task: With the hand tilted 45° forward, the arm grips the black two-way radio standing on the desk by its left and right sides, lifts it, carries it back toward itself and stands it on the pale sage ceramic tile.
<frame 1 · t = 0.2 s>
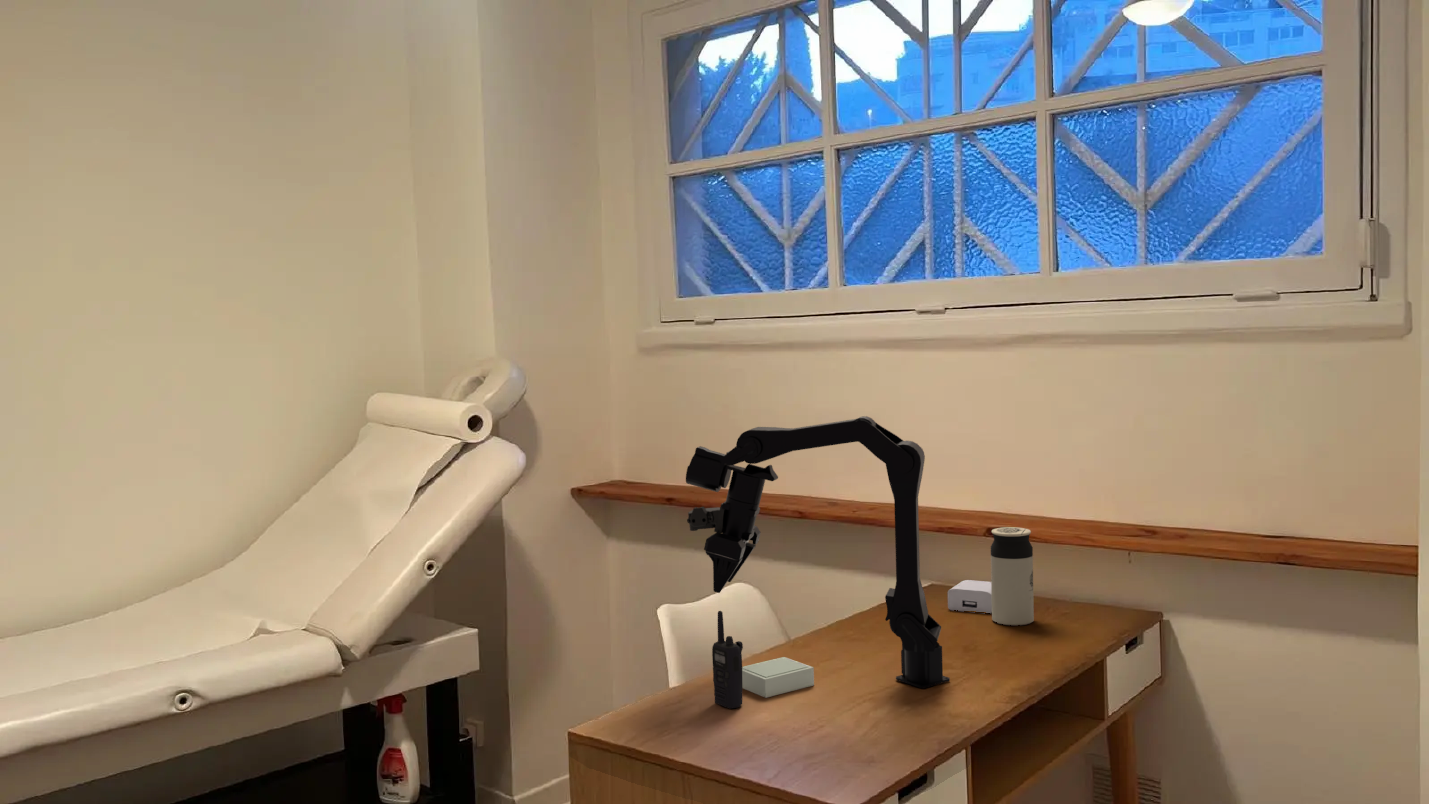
hand: (722, 586, 200), 15 cm above the table, tool tilted 15°, fingers open, 9 cm apart
travel mug: (1012, 622, 228), on the table
two-way radio: (731, 705, 184), on the table
charger: (980, 605, 243), on the table
sage tile: (775, 685, 193), on the table
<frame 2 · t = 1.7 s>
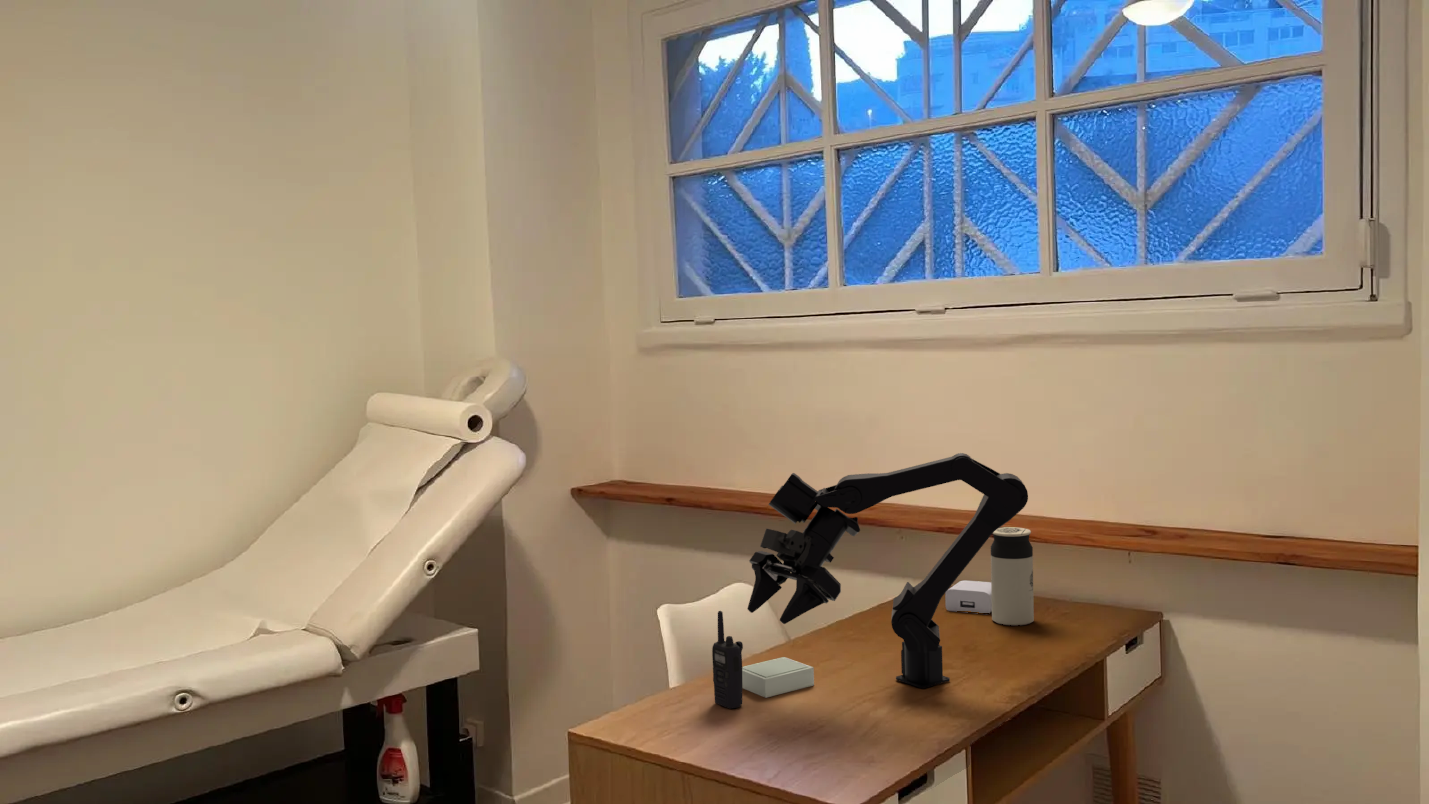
hand: (765, 616, 187), 13 cm above the table, tool tilted 45°, fingers open, 9 cm apart
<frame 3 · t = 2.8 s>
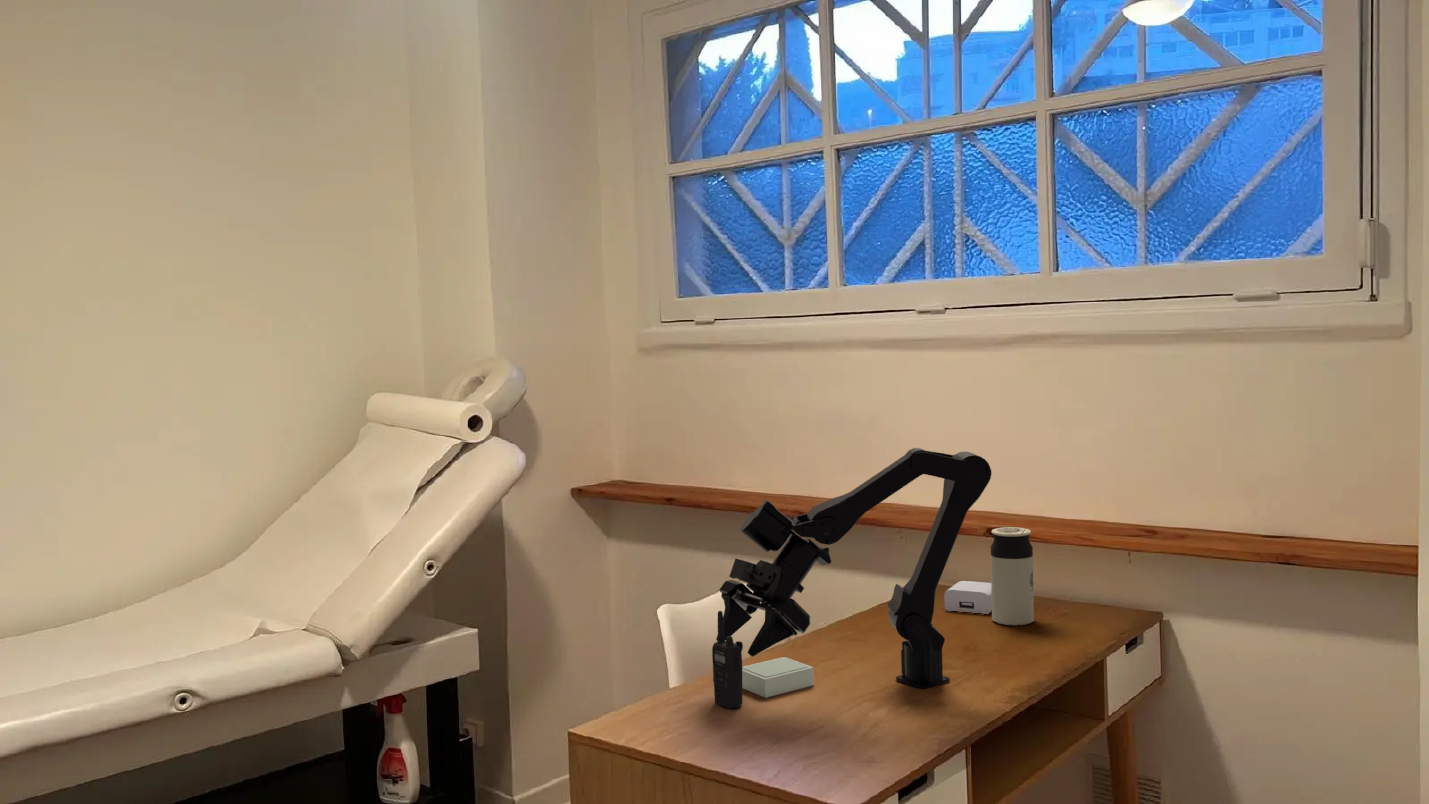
hand: (733, 648, 184), 9 cm above the table, tool tilted 45°, fingers open, 9 cm apart
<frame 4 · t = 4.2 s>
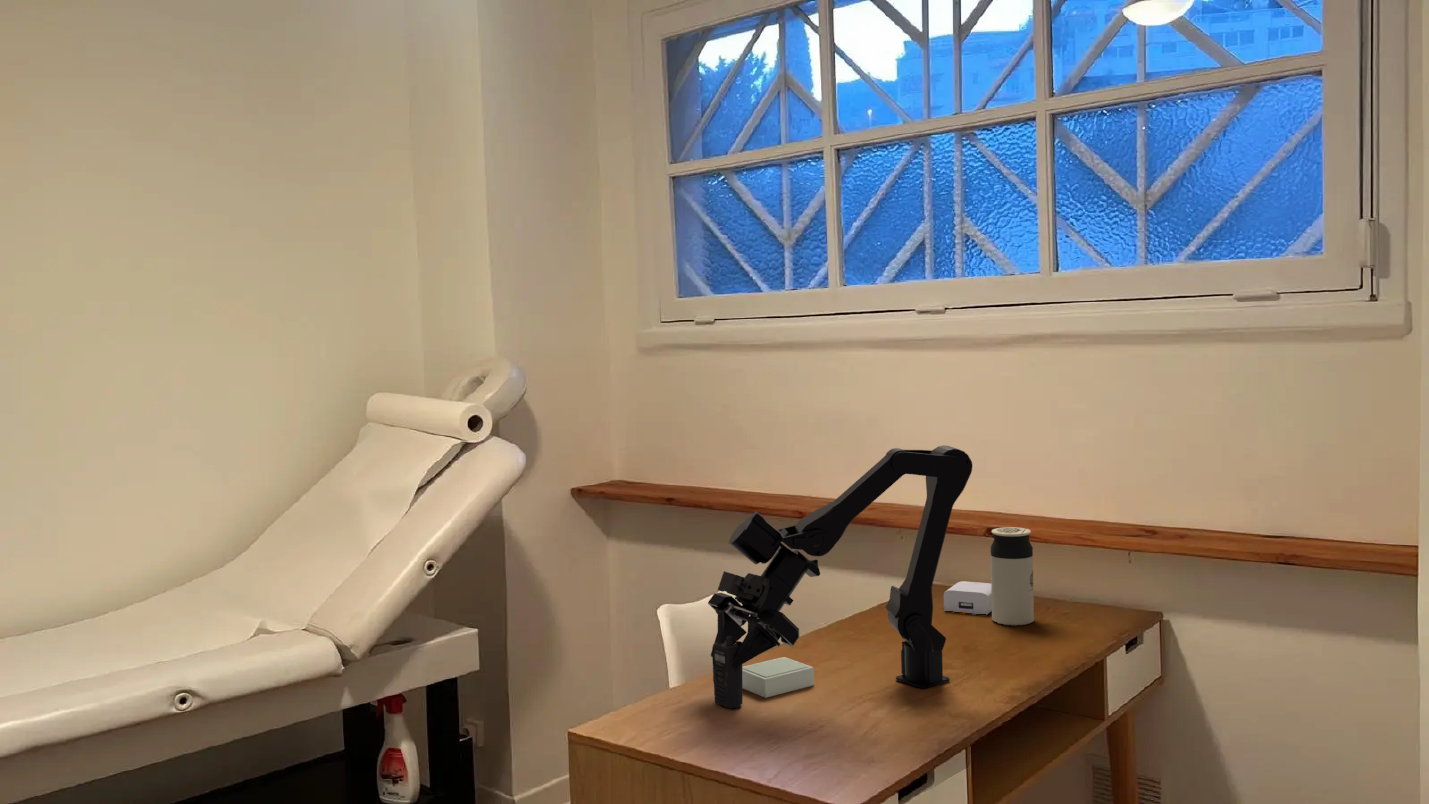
hand: (722, 661, 183), 7 cm above the table, tool tilted 45°, fingers closed on two-way radio, 5 cm apart
two-way radio: (731, 705, 184), on the table, touching gripper
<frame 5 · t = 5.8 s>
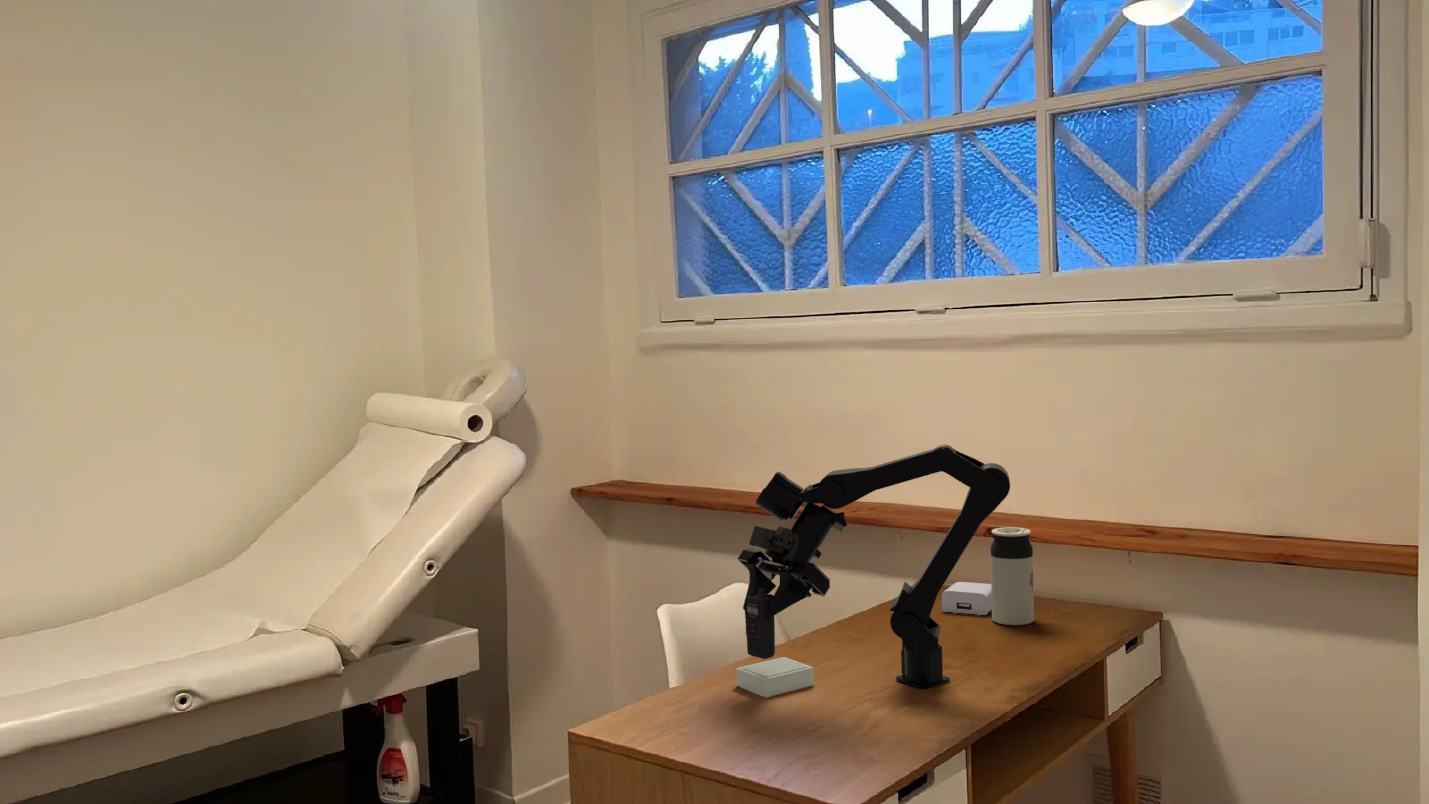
hand: (755, 613, 188), 13 cm above the table, tool tilted 45°, fingers closed on two-way radio, 5 cm apart
two-way radio: (764, 656, 189), point 6 cm above the table, touching gripper
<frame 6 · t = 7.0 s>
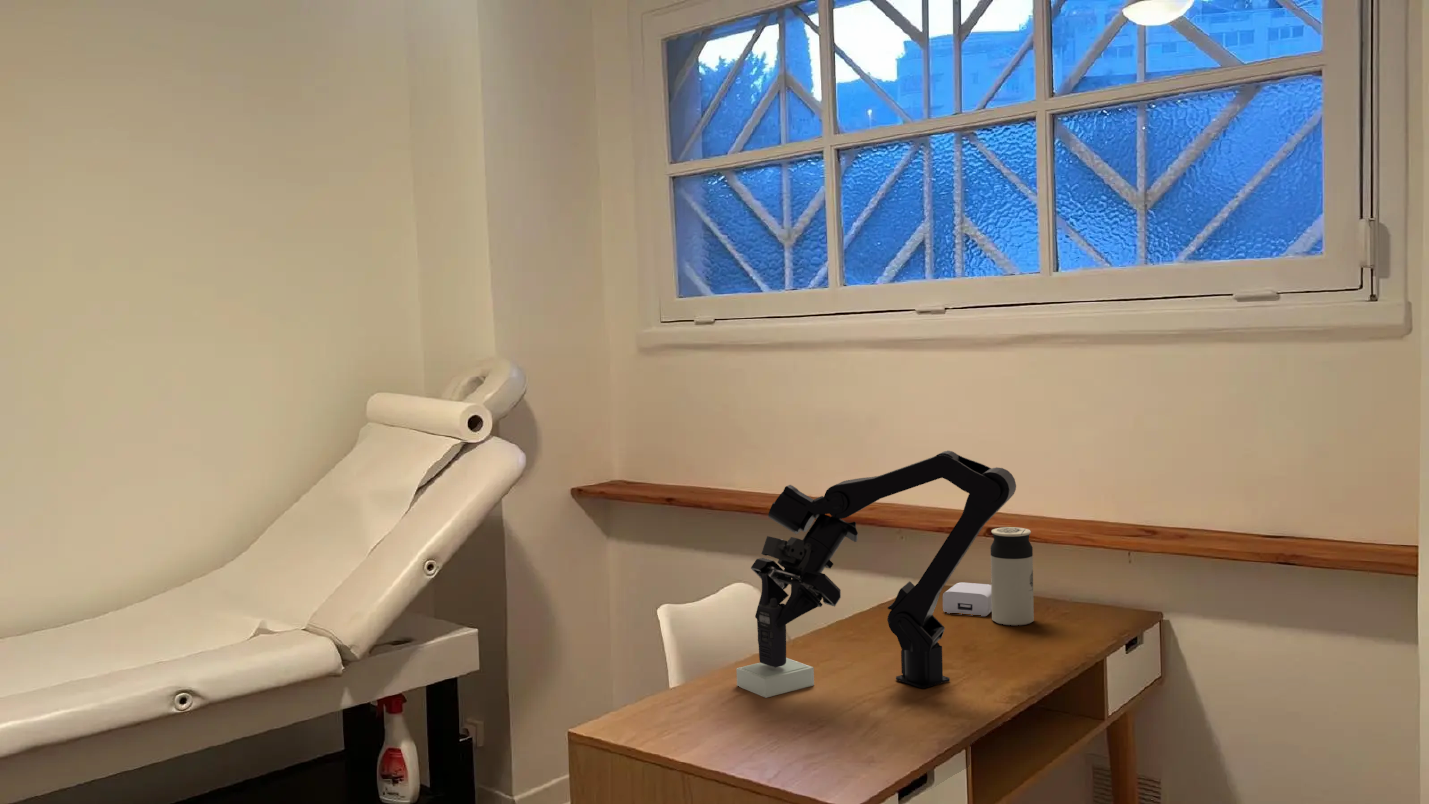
hand: (767, 622, 191), 11 cm above the table, tool tilted 45°, fingers closed on two-way radio, 5 cm apart
two-way radio: (775, 664, 192), point 4 cm above the table, touching gripper
when the fingers open (11 cm above the table, at t = 7.0 s): two-way radio stays where it is, resting on sage tile.
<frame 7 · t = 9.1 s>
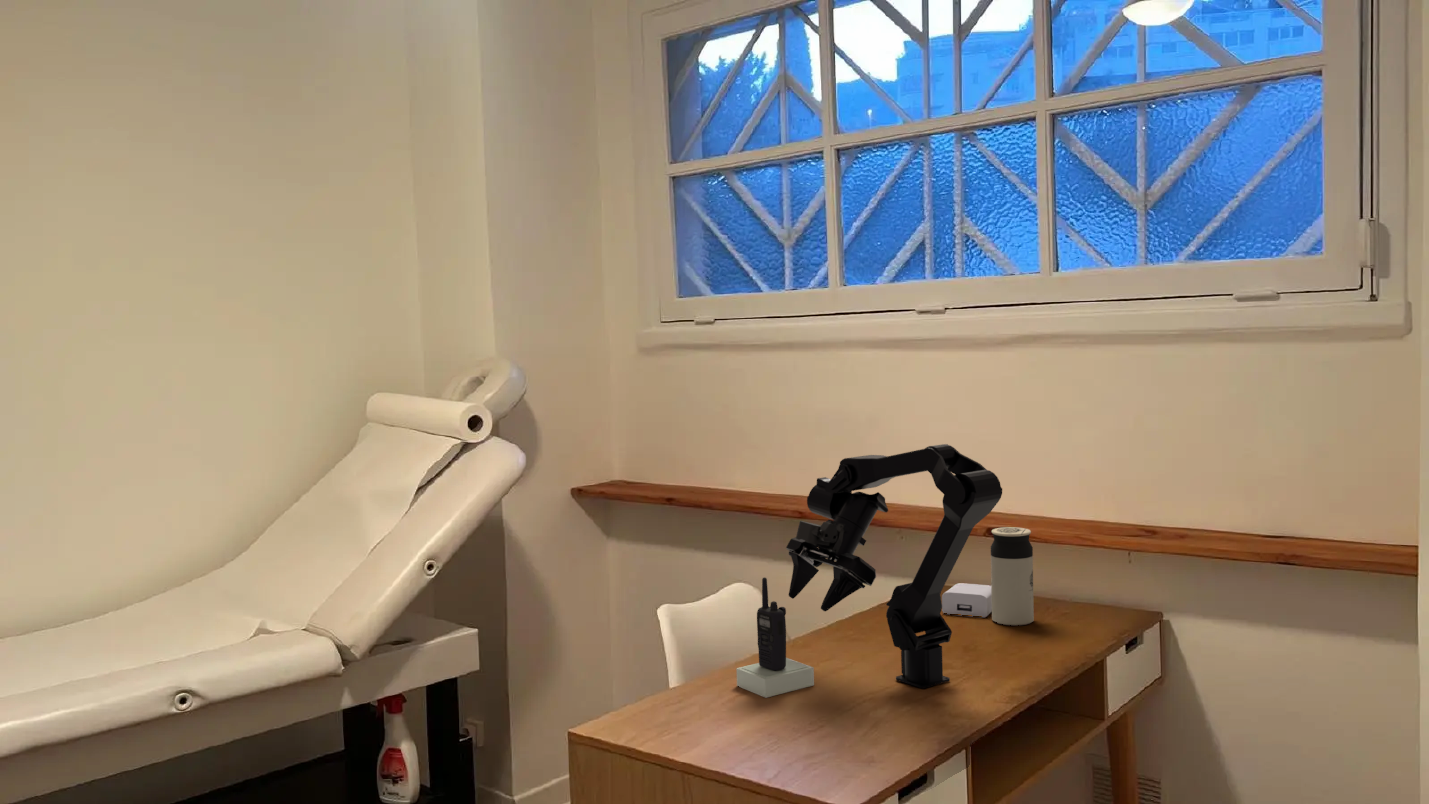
hand: (806, 603, 198), 12 cm above the table, tool tilted 35°, fingers open, 9 cm apart
two-way radio: (775, 668, 192), point 3 cm above the table, touching sage tile
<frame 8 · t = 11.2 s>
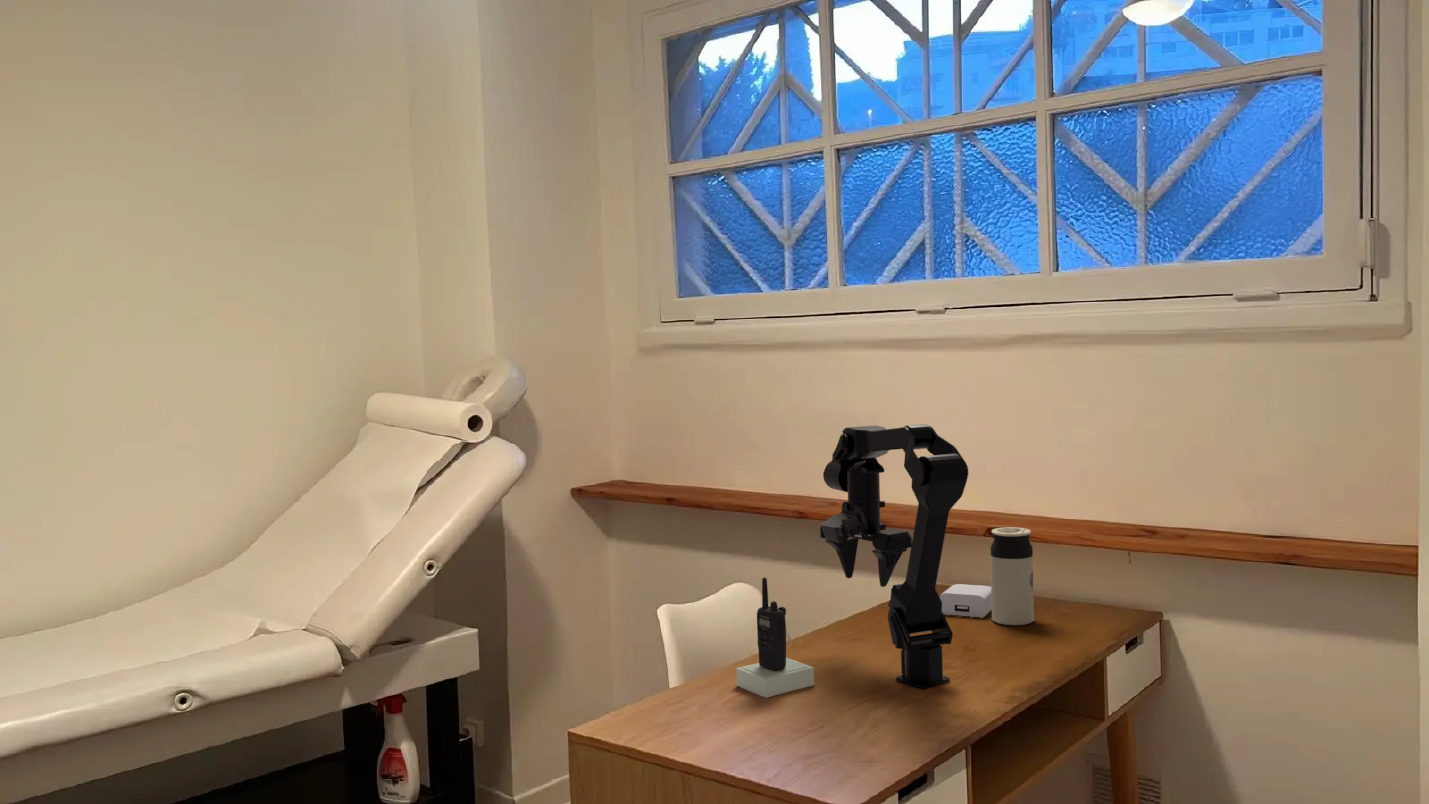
hand: (865, 582, 208), 13 cm above the table, tool pointing down, fingers open, 9 cm apart
at the end: two-way radio 0.1 cm from the sage tile (horizontally); two-way radio tilted 0°; two-way radio touching sage tile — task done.
